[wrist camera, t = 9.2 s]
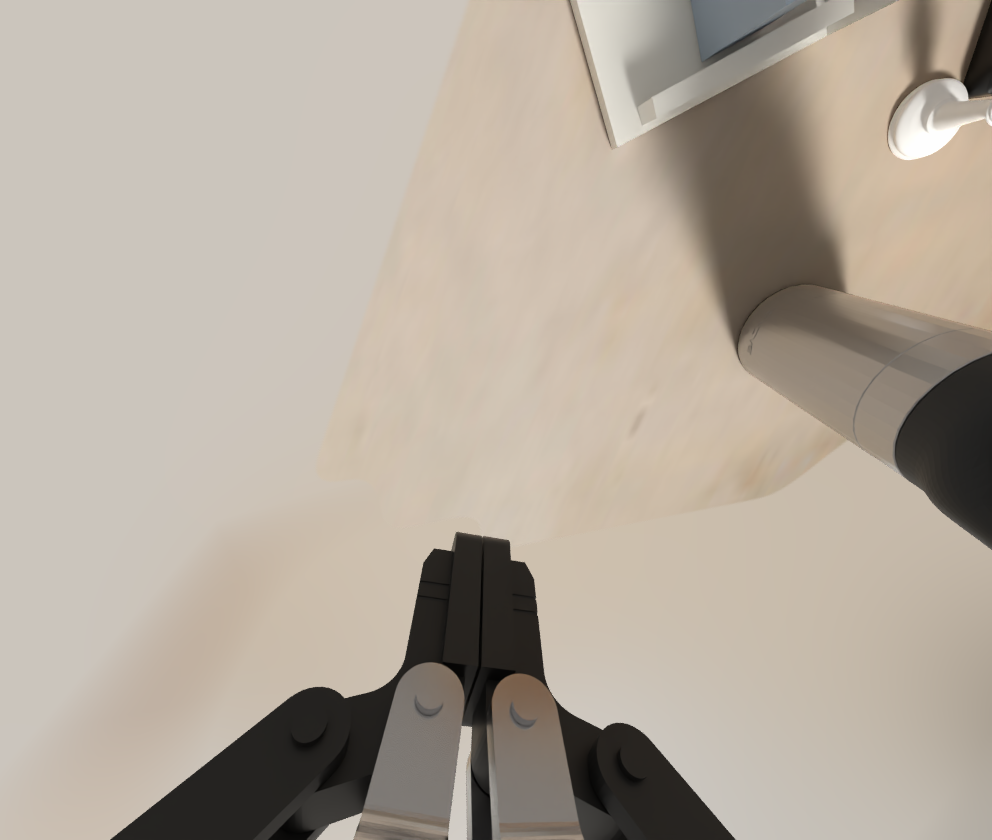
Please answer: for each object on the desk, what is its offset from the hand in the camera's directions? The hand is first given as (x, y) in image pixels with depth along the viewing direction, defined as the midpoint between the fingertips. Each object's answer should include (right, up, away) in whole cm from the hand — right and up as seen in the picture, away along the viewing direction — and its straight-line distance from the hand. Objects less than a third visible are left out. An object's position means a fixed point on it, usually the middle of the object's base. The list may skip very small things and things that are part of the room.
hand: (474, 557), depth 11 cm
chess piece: (+33, +26, +19) cm, 46 cm away
